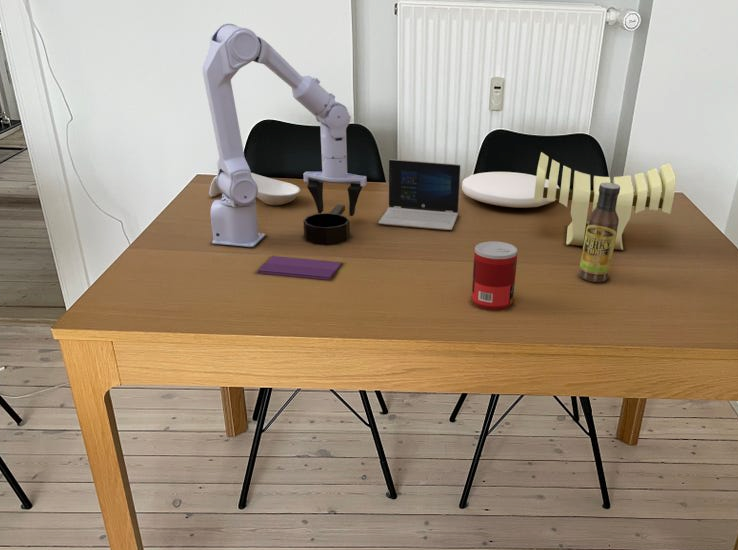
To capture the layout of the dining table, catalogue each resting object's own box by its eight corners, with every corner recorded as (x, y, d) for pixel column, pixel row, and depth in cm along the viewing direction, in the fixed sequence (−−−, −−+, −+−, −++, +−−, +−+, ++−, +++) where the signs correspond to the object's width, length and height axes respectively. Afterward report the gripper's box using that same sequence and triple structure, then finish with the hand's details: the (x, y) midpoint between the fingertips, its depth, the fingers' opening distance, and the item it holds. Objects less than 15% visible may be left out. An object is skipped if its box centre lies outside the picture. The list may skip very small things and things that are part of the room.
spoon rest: (306, 197, 193) (305, 170, 189) (291, 211, 183) (289, 182, 179) (222, 189, 196) (219, 163, 192) (202, 202, 186) (198, 174, 182)
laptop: (377, 225, 176) (377, 171, 169) (388, 209, 187) (388, 158, 180) (451, 232, 174) (454, 178, 168) (458, 215, 185) (460, 164, 179)
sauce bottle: (575, 280, 151) (588, 185, 142) (582, 270, 156) (595, 178, 147) (605, 286, 149) (621, 190, 139) (612, 276, 154) (627, 183, 145)
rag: (257, 273, 147) (257, 270, 147) (273, 257, 155) (272, 254, 155) (329, 280, 146) (329, 277, 146) (341, 263, 154) (341, 261, 153)
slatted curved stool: (529, 245, 168) (537, 168, 160) (533, 223, 182) (541, 151, 174) (661, 258, 165) (677, 180, 156) (655, 235, 178) (669, 162, 170)
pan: (342, 246, 163) (342, 229, 161) (299, 242, 164) (298, 225, 162) (361, 221, 178) (361, 205, 176) (321, 218, 179) (320, 202, 177)
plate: (471, 164, 211) (563, 174, 207) (470, 187, 214) (560, 197, 210) (453, 179, 186) (558, 190, 182) (452, 205, 188) (555, 216, 184)
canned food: (518, 308, 138) (524, 254, 133) (478, 312, 136) (482, 257, 130) (504, 292, 144) (509, 239, 139) (466, 295, 142) (469, 242, 137)
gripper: (369, 153, 169) (370, 210, 176) (308, 149, 170) (311, 205, 177) (362, 161, 163) (363, 219, 170) (299, 156, 164) (302, 214, 171)
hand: (336, 213), depth 173 cm, fingers open, 7 cm apart
